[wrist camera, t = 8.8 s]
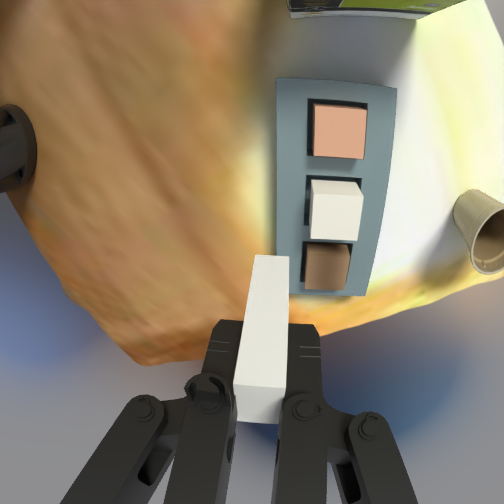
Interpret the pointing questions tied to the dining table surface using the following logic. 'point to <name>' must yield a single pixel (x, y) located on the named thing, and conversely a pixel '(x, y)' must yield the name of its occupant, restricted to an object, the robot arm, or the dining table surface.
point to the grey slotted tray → (330, 173)
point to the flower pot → (482, 229)
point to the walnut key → (326, 265)
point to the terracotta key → (338, 130)
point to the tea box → (367, 8)
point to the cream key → (335, 210)
